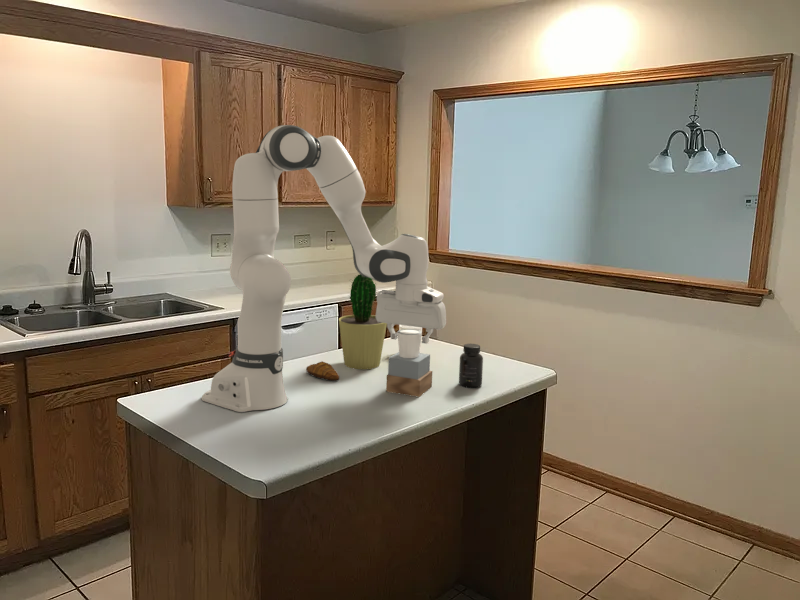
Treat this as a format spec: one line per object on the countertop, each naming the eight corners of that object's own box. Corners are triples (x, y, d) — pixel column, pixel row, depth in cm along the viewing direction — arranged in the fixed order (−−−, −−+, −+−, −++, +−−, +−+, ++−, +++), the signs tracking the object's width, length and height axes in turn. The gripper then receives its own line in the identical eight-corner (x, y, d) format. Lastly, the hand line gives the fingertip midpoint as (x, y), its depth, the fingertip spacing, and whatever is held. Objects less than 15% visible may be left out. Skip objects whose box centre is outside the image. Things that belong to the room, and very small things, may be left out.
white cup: (413, 358, 218) (414, 329, 216) (393, 354, 222) (394, 326, 220) (425, 353, 224) (426, 325, 223) (406, 350, 229) (407, 322, 227)
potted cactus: (372, 374, 199) (374, 277, 194) (328, 366, 206) (330, 272, 200) (394, 362, 213) (397, 271, 207) (353, 355, 219) (355, 267, 214)
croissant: (298, 374, 197) (298, 358, 196) (315, 370, 202) (315, 354, 201) (328, 385, 188) (328, 368, 187) (345, 380, 193) (346, 364, 192)
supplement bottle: (459, 380, 196) (461, 341, 194) (482, 382, 195) (484, 343, 193) (457, 387, 190) (459, 347, 187) (480, 389, 188) (483, 349, 186)
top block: (388, 374, 183) (388, 357, 182) (400, 366, 191) (401, 350, 190) (417, 379, 180) (418, 362, 179) (429, 371, 188) (430, 354, 187)
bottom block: (386, 392, 184) (386, 375, 183) (399, 382, 193) (400, 366, 192) (419, 397, 180) (419, 380, 179) (431, 387, 189) (432, 371, 188)
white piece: (419, 359, 181) (419, 335, 180) (394, 358, 182) (395, 333, 181) (422, 353, 188) (423, 329, 186) (399, 351, 189) (399, 328, 188)
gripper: (372, 290, 182) (371, 338, 185) (442, 298, 175) (439, 348, 177) (381, 287, 188) (380, 334, 191) (449, 294, 181) (446, 342, 183)
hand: (409, 341), depth 184 cm, fingers open, 8 cm apart
